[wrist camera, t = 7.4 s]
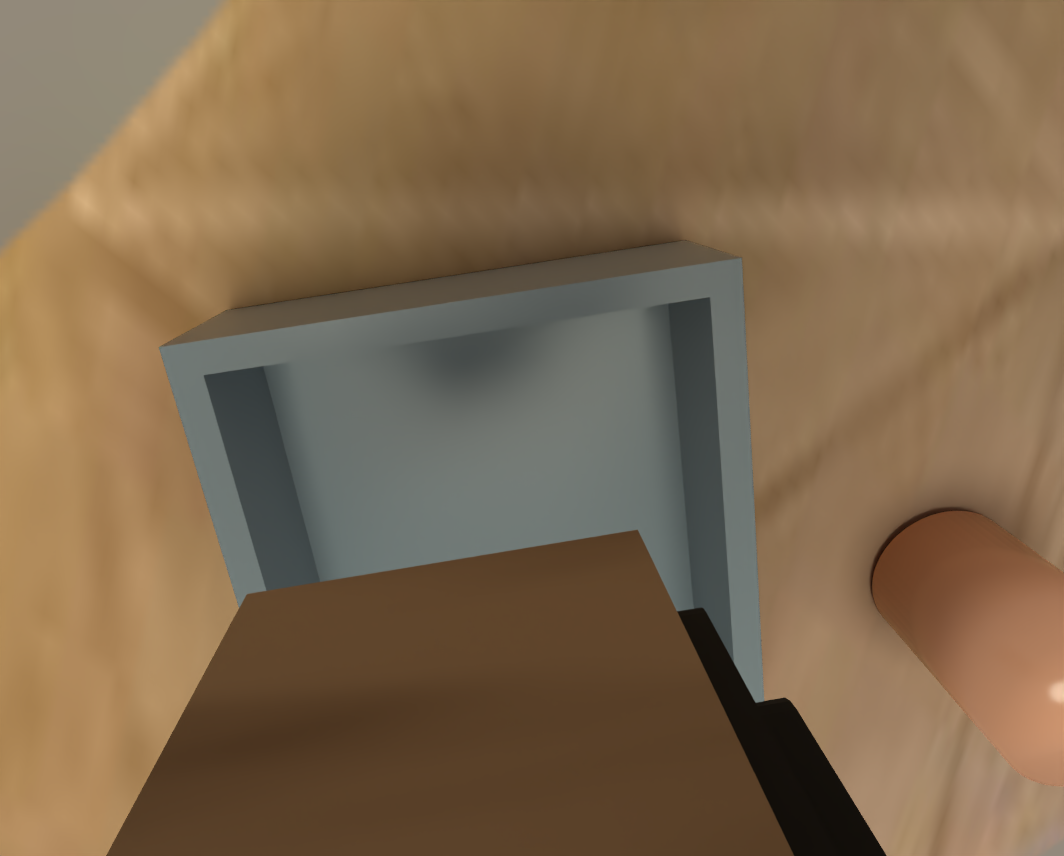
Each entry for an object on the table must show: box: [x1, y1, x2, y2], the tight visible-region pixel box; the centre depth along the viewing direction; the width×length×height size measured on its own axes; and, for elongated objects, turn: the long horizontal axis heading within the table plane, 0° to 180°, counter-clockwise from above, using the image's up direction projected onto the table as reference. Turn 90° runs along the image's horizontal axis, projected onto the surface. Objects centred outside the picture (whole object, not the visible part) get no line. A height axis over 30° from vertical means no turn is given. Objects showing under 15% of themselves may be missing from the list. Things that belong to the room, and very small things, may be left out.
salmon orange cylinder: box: [872, 511, 1064, 786], centre depth 23 cm, size 5×5×7 cm
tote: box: [159, 240, 764, 703], centre depth 23 cm, size 14×18×5 cm
